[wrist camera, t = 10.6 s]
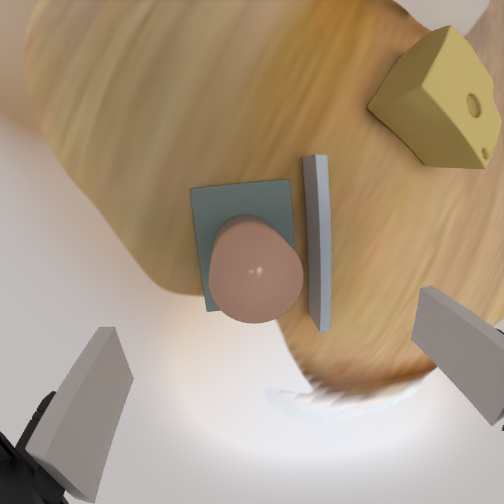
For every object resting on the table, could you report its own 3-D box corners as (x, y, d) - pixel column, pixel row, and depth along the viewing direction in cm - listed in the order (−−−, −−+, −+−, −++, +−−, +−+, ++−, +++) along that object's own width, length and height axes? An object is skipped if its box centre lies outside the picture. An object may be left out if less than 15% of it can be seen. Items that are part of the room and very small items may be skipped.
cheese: (454, 110, 25) (511, 102, 16) (423, 172, 27) (487, 177, 17) (398, 49, 23) (450, 20, 13) (358, 108, 25) (416, 85, 15)
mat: (190, 188, 25) (190, 189, 25) (288, 179, 26) (289, 179, 25) (207, 309, 28) (206, 311, 28) (294, 298, 29) (296, 301, 28)
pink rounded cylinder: (209, 218, 25) (202, 239, 17) (275, 211, 26) (301, 229, 17) (217, 280, 27) (215, 328, 18) (279, 273, 27) (304, 316, 19)
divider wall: (302, 157, 25) (315, 154, 22) (312, 157, 25) (327, 154, 22) (308, 313, 30) (320, 332, 26) (317, 312, 30) (329, 330, 26)
